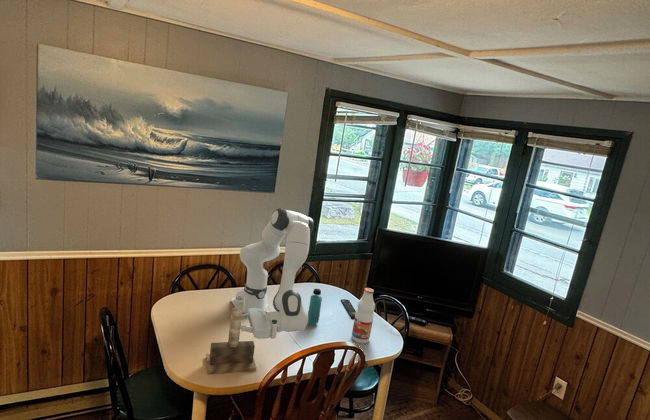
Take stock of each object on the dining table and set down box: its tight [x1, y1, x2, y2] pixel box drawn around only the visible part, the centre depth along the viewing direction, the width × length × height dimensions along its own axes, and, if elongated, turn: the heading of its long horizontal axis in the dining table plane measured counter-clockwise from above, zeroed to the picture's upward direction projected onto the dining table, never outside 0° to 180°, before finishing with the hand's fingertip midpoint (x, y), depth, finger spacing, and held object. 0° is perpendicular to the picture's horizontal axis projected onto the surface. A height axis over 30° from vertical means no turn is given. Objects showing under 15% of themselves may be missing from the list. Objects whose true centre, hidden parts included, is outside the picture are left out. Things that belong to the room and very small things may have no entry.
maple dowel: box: [227, 307, 243, 347], centre depth 175 cm, size 4×4×16 cm
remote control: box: [340, 298, 357, 320], centre depth 249 cm, size 5×24×1 cm, turn 13°
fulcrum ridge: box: [205, 340, 257, 375], centre depth 177 cm, size 20×12×10 cm, turn 109°
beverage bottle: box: [307, 288, 323, 325], centre depth 222 cm, size 6×7×20 cm
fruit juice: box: [351, 287, 376, 344], centre depth 213 cm, size 9×9×28 cm
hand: (239, 322), depth 175 cm, fingers open, 8 cm apart
